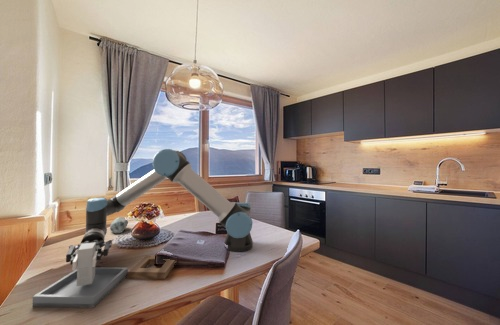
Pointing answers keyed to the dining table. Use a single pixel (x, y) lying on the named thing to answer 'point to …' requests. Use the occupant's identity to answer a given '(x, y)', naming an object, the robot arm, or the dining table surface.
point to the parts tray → (80, 289)
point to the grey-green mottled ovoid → (118, 225)
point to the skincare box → (85, 264)
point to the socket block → (150, 269)
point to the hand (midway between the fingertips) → (84, 264)
